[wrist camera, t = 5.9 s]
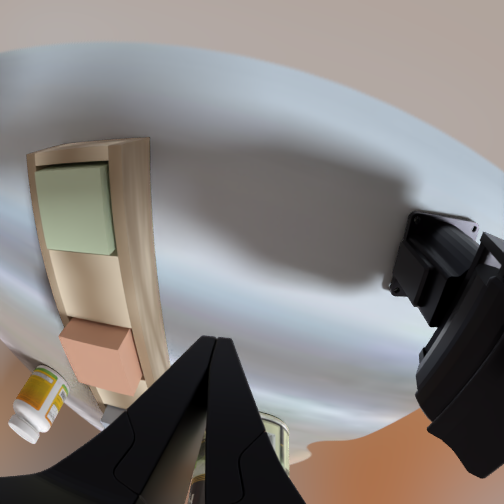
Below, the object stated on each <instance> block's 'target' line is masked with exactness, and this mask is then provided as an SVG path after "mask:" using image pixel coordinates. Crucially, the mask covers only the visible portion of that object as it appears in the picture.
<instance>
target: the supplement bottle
mask: <svg viewBox="0 0 504 504" xmlns="http://www.w3.org/2000/svg"><path fill="white" fill-rule="evenodd" d="M68 393H69V386H68V384H67V382H66V381H65V380H64V379H63V378H62V376H60V375H59V374H58V373H57V372H56V371H54V370H53V369H51V368H49V367H47V366H44V365H39V366H38V367H37V368H36V369H35V370H34V372H33V373H32V375H31V376H30V378H29V379H28V381H27V382H26V384H25V385H24V387H23V388H22V390H21V391H20V393H19V394H18V396H17V398H16V399H15V401H14V403H13V408H14V411H15V413H16V414H15V415H12V417H11V418H10V420H9V422H8V424H9V426H10V427H11V428H12V429H13V430H14V431H15V432H16V433H17V434H18V435H20V436H21V437H22V438H24V439H25V440H27V441H29V442H31V443H33V444H35V443H36V441H37V440H38V438H39V432H47V431H48V430H49V429H50V427H51V425H52V423H53V421H54V419H55V417H56V416H57V414H58V412H59V410H60V408H61V406H62V404H63V403H64V401H65V399H66V397H67V395H68Z"/></svg>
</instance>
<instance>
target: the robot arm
mask: <svg viewBox="0 0 504 504" xmlns="http://www.w3.org/2000/svg"><path fill="white" fill-rule="evenodd" d="M415 217H418V219H417V221H416V222H414V219H415ZM473 226H474V228H473ZM472 228H473V230H472ZM478 230H479V225H478V224H477V223H476V222H474V221H471V220H465V219H460V218H454V217H448V216H442V215H436V214H430V213H424V212H418V211H414V212H412V213H411V214H410V215H409V218H408V222H407V226H406V231H405V235H404V239H403V240H402V242H401V243H400V247H399V251H398V255H397V258H396V262H395V265H394V269H393V278H392V282H391V285H390V289H389V290H390V292H391V294H392V295H393V296H403V297H408V298H409V300H410V301H411V303H412V305H413V306H414V307H418V308H419V310H420V312H421V313H422V315H423V316H424V318H425V320H426V321H427V323H428V325H429V326H430V327H438V328H437V330H436V331H435V333H434V334H433V336H432V338H431V339H430V341H429V342H428V344H427V346H426V347H424V348H423V349H422V351H421V352H420V354H419V363H420V364H419V366H418V370H417V373H416V381H417V389H418V391H417V392H416V394H415V397H416V399H417V401H418V403H419V406H420V408H421V409H422V411H423V412H424V414H425V415H426V416H427V418H428V419H429V420H430V421H431V422H432V423H431V424H430V425H429V426H428V427H427V431H428V432H429V433H431V434H433V435H434V436H436V437H438V438H440V439H441V440H443V442H445V443H446V444H447V445H448V446H449V447H450V448H451V449H452V450H453V451H454V452H455V454H456V455H457V456H458V458H459V459H460V461H461V462H462V464H463V465H464V467H465V468H466V470H467V471H468V472H469V473H471V474H473V475H475V476H477V477H479V478H486V477H487V476H489V475H490V474H491V473H493V472H494V471H495V470H497V469H498V468H499V467H500V466H502V465H503V464H504V240H502V239H500V238H498V237H495V236H493V235H491V234H488V233H486V232H483V234H482V236H481V239H480V241H481V243H480V245H479V244H478V243H477V242H476V241H475V240H476V237H477V234H478ZM396 288H398V289H397V290H395V289H396ZM394 290H395V291H394ZM205 428H206V446H205V504H306V503H305V501H304V500H303V498H302V497H301V495H300V494H299V492H298V491H297V489H296V488H295V486H294V485H293V483H292V482H291V480H290V478H289V477H288V475H287V473H286V471H285V470H284V468H283V466H282V464H281V462H280V461H279V459H278V456H277V454H276V452H275V450H274V448H273V446H272V443H271V441H270V438H269V436H268V433H267V432H266V429H265V426H264V424H263V421H262V419H261V416H260V413H259V411H258V408H257V406H256V403H255V400H254V398H253V395H252V392H251V390H250V387H249V384H248V382H247V379H246V376H245V373H244V371H243V368H242V365H241V362H240V360H239V357H238V354H237V351H236V348H235V346H234V343H233V340H232V339H231V338H225V337H218V338H216V337H214V336H206V335H203V336H201V337H200V338H199V339H198V340H197V341H196V342H195V343H194V344H193V345H192V346H191V347H190V348H189V349H188V350H187V351H186V352H185V353H184V354H183V355H182V356H181V357H180V358H179V359H178V360H177V361H176V362H175V363H174V364H173V365H172V366H171V367H170V368H169V369H167V370H166V371H165V372H164V373H163V374H162V375H161V376H160V377H159V378H158V379H157V380H156V381H155V382H154V383H153V384H152V385H151V386H150V387H149V388H148V389H147V390H146V391H145V392H144V393H143V394H142V395H141V396H140V397H139V398H138V399H137V400H136V401H134V402H133V403H132V404H131V405H130V406H129V407H128V408H127V411H124V412H123V413H122V414H121V415H120V416H119V417H118V418H116V419H115V420H114V421H113V422H112V423H111V424H110V425H109V426H107V427H106V428H105V429H104V430H103V431H102V432H101V433H99V434H98V435H96V436H95V437H94V438H92V439H91V440H90V441H89V442H87V443H86V444H84V445H83V446H81V447H80V448H79V449H77V450H76V451H74V452H73V453H72V454H70V455H69V456H67V457H66V458H64V459H63V460H61V461H60V462H58V463H57V464H55V465H54V466H52V467H50V468H48V469H46V470H44V471H41V472H38V473H34V474H29V475H20V476H8V477H0V504H184V503H185V500H186V496H187V493H188V489H189V485H190V482H191V479H192V475H193V471H194V468H195V464H196V461H197V457H198V454H199V450H200V446H201V443H202V439H203V436H204V432H205Z"/></svg>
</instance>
